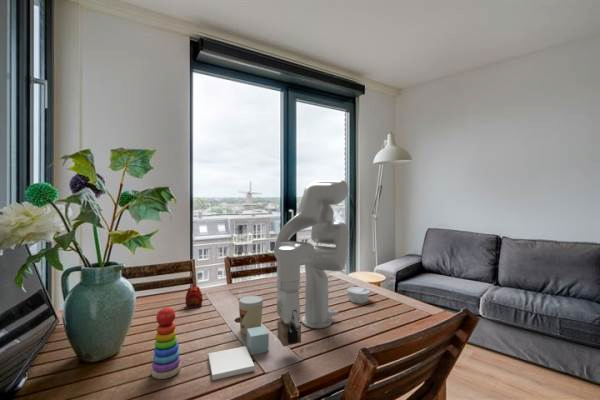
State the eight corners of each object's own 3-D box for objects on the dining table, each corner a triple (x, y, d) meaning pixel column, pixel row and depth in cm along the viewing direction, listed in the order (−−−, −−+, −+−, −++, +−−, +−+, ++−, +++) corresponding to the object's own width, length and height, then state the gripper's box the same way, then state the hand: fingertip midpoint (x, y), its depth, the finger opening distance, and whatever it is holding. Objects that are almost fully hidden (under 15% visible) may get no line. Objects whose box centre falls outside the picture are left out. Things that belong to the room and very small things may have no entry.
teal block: (263, 342, 101) (263, 325, 101) (268, 351, 96) (268, 333, 96) (246, 345, 99) (246, 328, 99) (250, 354, 94) (250, 336, 94)
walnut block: (294, 333, 98) (294, 316, 98) (301, 342, 93) (300, 324, 92) (277, 337, 96) (277, 320, 96) (283, 346, 90) (283, 328, 90)
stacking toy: (185, 363, 88) (185, 303, 88) (174, 380, 80) (175, 313, 80) (159, 364, 88) (159, 303, 87) (146, 380, 80) (146, 314, 80)
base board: (245, 350, 96) (245, 346, 96) (254, 370, 85) (254, 365, 85) (208, 357, 91) (208, 353, 91) (212, 380, 80) (212, 374, 80)
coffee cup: (236, 326, 114) (237, 296, 113) (259, 323, 117) (260, 294, 117) (240, 337, 105) (240, 305, 105) (265, 333, 108) (265, 302, 108)
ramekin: (371, 304, 139) (372, 294, 139) (348, 304, 139) (348, 293, 139) (366, 296, 150) (367, 286, 150) (345, 296, 150) (345, 286, 150)
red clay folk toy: (184, 309, 130) (185, 276, 130) (185, 304, 137) (186, 272, 137) (202, 307, 132) (202, 275, 132) (202, 302, 139) (203, 271, 139)
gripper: (269, 277, 100) (270, 328, 101) (287, 295, 84) (287, 354, 85) (289, 275, 103) (290, 323, 104) (310, 291, 87) (310, 348, 88)
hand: (289, 337), depth 94 cm, fingers closed on walnut block, 5 cm apart
